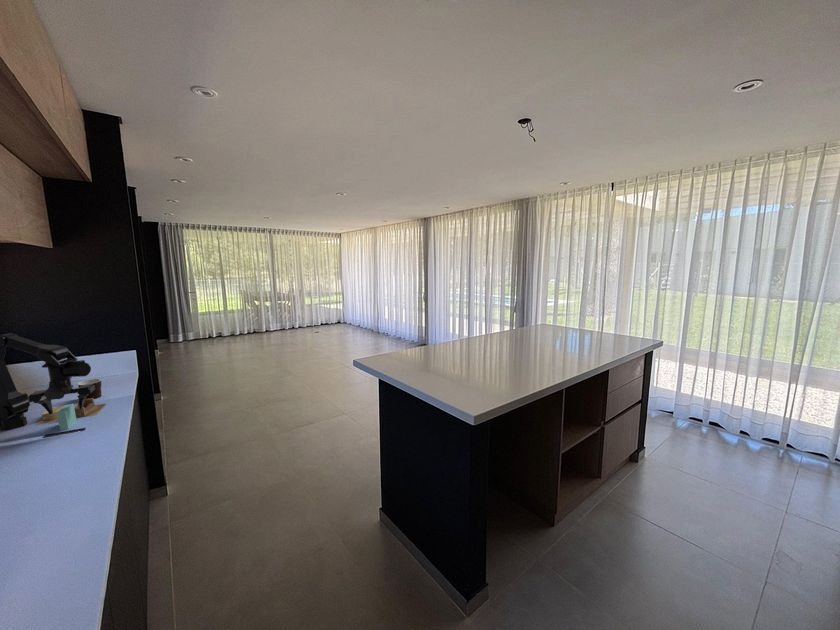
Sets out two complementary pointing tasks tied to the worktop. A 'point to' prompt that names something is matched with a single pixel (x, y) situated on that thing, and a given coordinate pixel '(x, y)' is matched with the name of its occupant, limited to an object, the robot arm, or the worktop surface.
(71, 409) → the teal rectangular block
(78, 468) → the worktop surface
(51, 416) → the oak offcut lower
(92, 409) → the walnut rack
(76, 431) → the charcoal mat
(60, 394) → the robot arm
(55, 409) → the oak offcut upper
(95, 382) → the coffee mug
